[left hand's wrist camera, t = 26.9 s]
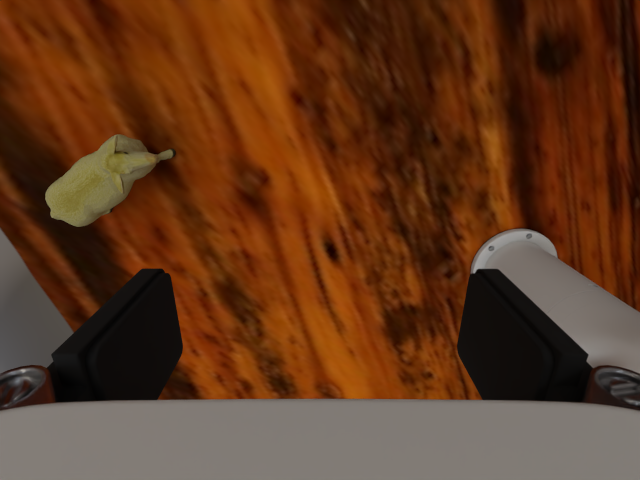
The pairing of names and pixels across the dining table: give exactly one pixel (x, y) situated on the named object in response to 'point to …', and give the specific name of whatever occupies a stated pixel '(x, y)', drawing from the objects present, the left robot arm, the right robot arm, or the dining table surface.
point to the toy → (101, 180)
